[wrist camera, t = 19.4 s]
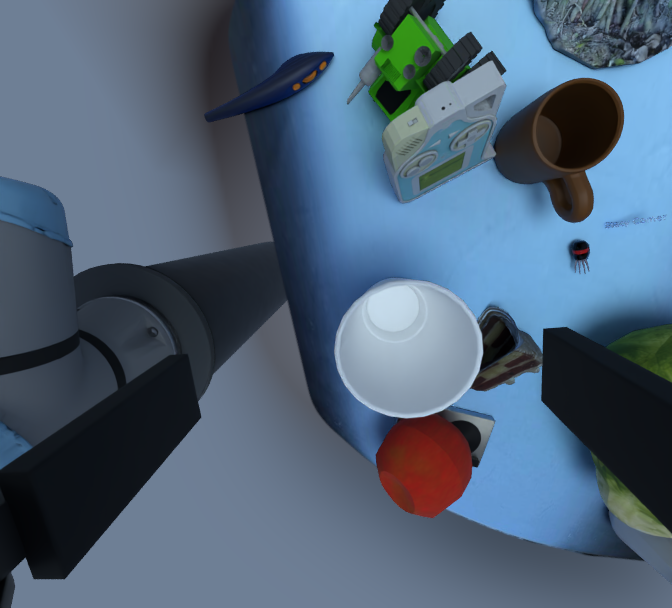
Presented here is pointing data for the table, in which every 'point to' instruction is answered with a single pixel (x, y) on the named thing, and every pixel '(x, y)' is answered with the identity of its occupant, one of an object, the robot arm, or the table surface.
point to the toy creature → (582, 247)
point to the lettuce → (654, 355)
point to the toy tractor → (415, 56)
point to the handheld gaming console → (443, 133)
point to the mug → (562, 142)
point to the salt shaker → (647, 546)
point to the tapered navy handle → (276, 85)
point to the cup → (408, 348)
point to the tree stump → (607, 29)
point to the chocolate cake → (504, 351)
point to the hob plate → (469, 429)
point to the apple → (424, 464)
